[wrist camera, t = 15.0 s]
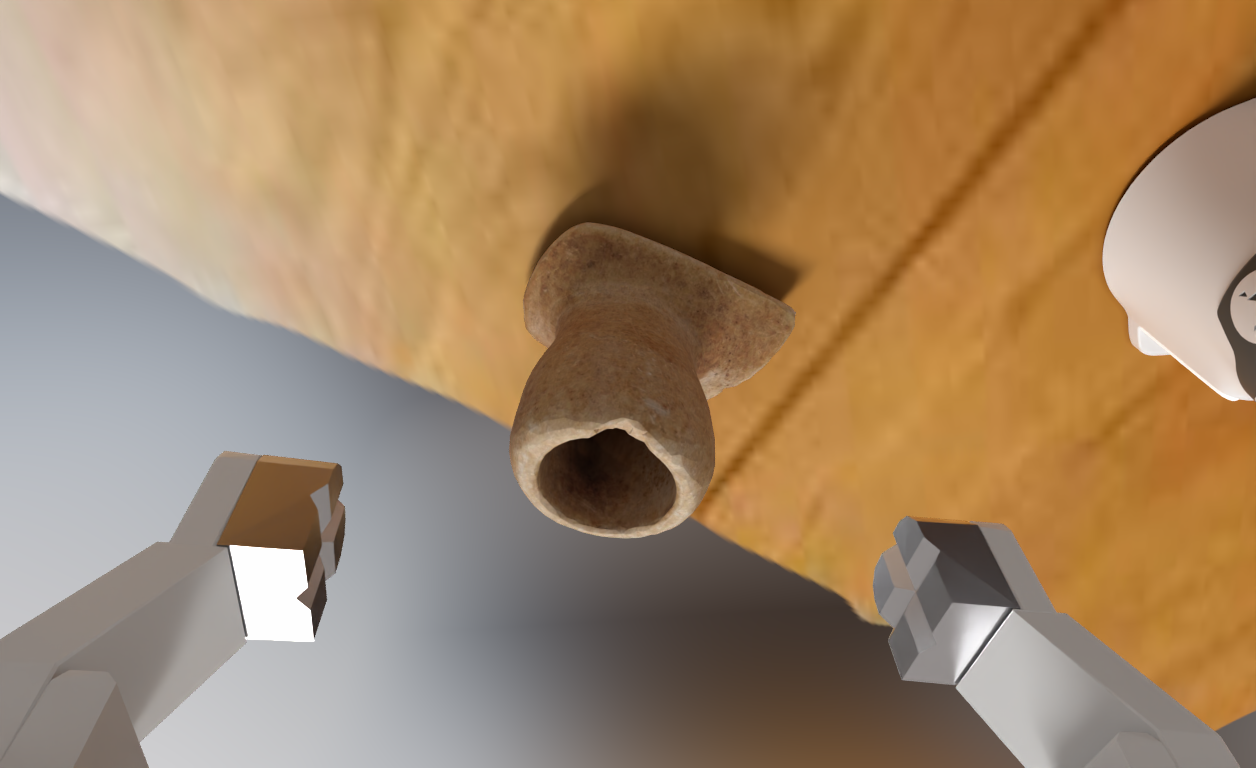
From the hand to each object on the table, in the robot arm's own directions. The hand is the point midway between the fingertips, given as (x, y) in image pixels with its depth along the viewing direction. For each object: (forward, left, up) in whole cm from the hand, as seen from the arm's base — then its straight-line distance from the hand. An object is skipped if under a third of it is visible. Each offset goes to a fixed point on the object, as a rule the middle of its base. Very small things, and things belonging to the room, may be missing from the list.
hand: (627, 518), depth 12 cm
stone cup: (-5, +18, -34) cm, 39 cm away
